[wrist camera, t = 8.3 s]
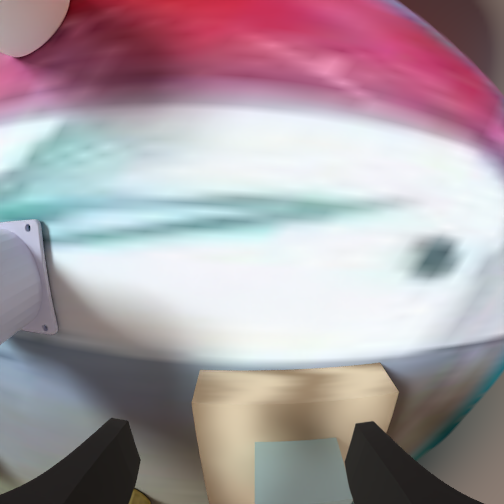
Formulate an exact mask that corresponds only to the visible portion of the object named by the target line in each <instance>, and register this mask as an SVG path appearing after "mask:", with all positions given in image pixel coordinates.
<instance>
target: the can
mask: <svg viewBox="0 0 504 504" xmlns="http://www.w3.org/2000/svg"><path fill="white" fill-rule="evenodd" d="M69 3H70V0H0V52H1V53H4V54H6V55H9V56H12V57H22V56H25V55H28V54H30V53H31V52H33V51H35V50H37V49H38V48H40V47H41V46H42V45H44V44H45V43H46V42H47V41H48V40H49V39H50V38H51V37H52V36H53V35H54V34H55V32H56V31H57V30H58V28H59V27H60V25H61V24H62V22H63V20H64V18H65V16H66V14H67V11H68V7H69Z"/></svg>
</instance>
